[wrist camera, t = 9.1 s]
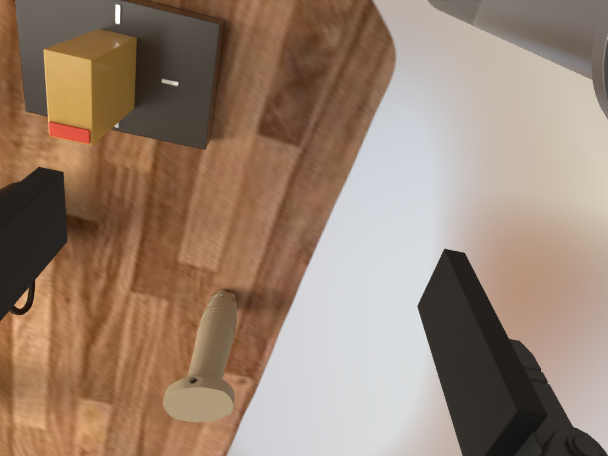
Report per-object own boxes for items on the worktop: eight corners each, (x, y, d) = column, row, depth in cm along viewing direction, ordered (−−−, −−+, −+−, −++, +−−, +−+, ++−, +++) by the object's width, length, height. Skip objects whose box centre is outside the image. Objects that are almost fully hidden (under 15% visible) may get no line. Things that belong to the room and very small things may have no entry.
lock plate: (225, 20, 38) (220, 24, 36) (210, 140, 44) (205, 150, 42) (29, -29, 37) (10, -27, 34) (39, 103, 42) (24, 112, 40)
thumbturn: (99, 28, 36) (41, 49, 29) (137, 37, 37) (89, 60, 29) (99, 100, 40) (47, 138, 32) (134, 108, 40) (91, 147, 32)
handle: (254, 311, 55) (238, 419, 43) (203, 316, 56) (172, 424, 43) (246, 280, 53) (226, 384, 40) (193, 285, 53) (156, 390, 41)
